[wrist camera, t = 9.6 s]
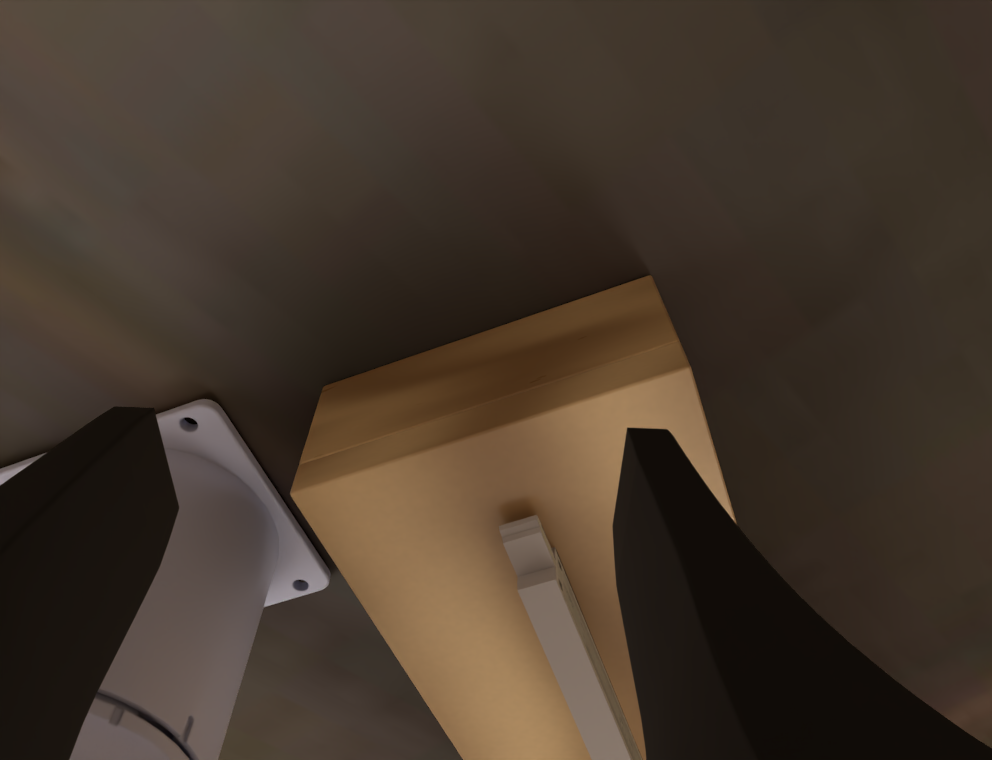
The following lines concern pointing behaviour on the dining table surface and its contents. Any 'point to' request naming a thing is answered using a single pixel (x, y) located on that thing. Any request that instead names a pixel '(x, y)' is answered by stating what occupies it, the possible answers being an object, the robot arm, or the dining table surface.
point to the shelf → (499, 502)
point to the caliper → (567, 641)
